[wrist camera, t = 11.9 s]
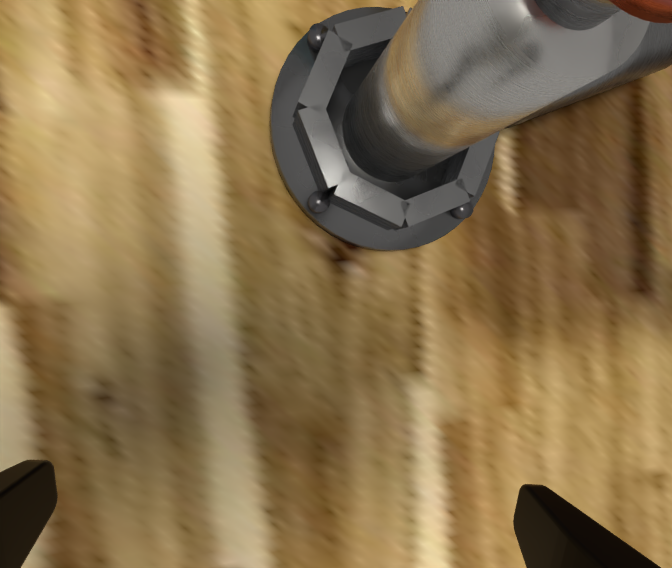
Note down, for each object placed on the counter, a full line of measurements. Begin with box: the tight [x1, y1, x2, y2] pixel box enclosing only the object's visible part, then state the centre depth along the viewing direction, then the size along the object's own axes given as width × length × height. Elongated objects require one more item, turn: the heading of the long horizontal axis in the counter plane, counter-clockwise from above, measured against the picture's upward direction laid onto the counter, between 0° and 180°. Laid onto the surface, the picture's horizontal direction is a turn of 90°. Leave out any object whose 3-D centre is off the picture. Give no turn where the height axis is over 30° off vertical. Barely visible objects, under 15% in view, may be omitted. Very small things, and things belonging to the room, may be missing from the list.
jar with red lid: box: [342, 0, 672, 182], centre depth 13 cm, size 5×5×14 cm
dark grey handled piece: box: [270, 6, 672, 251], centre depth 20 cm, size 23×12×4 cm, turn 112°
